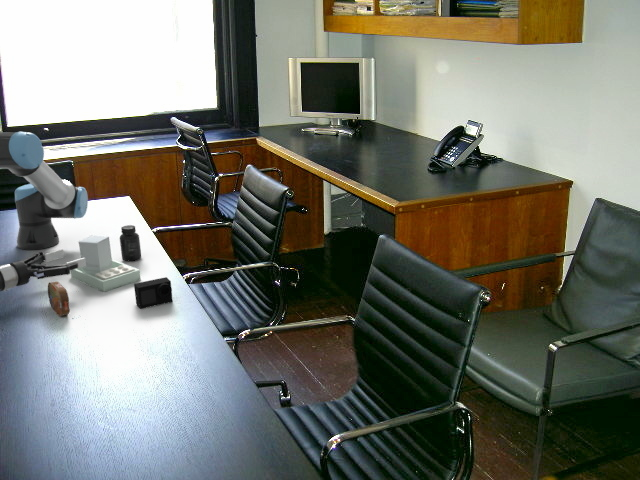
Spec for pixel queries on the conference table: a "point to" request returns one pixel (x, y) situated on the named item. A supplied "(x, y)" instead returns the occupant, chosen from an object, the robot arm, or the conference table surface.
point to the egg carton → (113, 272)
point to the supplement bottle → (130, 244)
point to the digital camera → (153, 292)
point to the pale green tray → (108, 283)
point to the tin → (58, 298)
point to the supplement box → (96, 254)
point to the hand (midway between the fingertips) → (74, 257)
